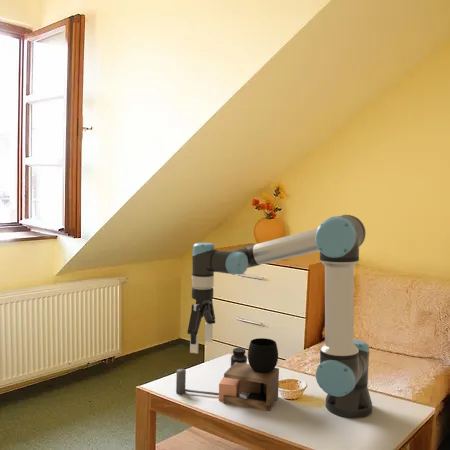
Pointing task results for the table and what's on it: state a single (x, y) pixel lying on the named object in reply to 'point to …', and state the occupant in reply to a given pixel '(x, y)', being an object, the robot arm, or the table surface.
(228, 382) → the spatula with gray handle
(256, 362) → the black goblet
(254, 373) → the shelf
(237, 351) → the pill bottle
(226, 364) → the table surface
